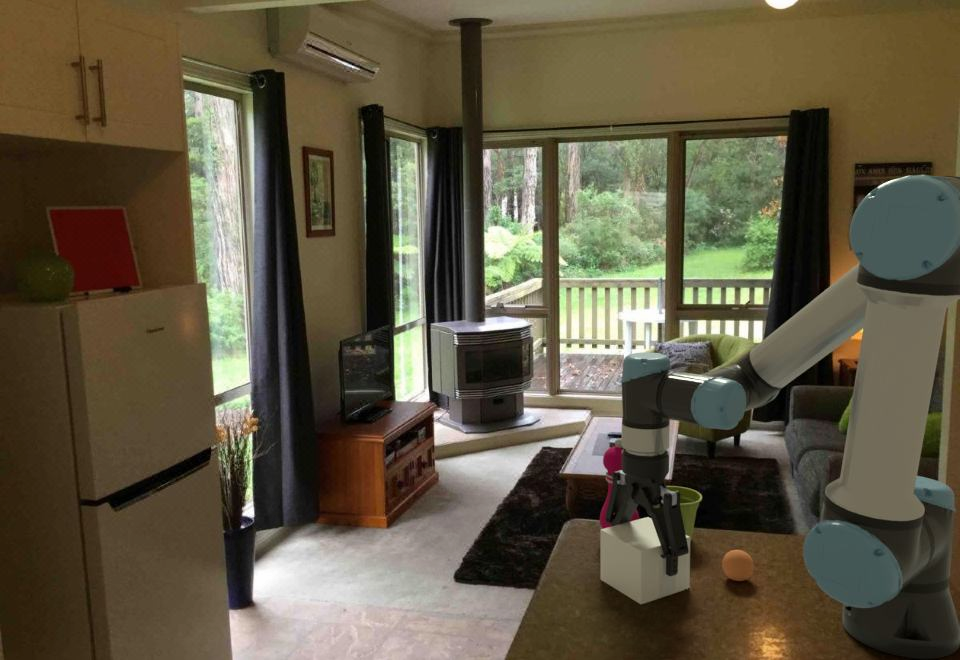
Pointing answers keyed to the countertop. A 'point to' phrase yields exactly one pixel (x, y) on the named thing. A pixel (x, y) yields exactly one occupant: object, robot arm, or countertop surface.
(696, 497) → the plant pot
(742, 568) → the ball
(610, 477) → the pepper mill
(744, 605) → the countertop surface
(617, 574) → the cream cuboid
